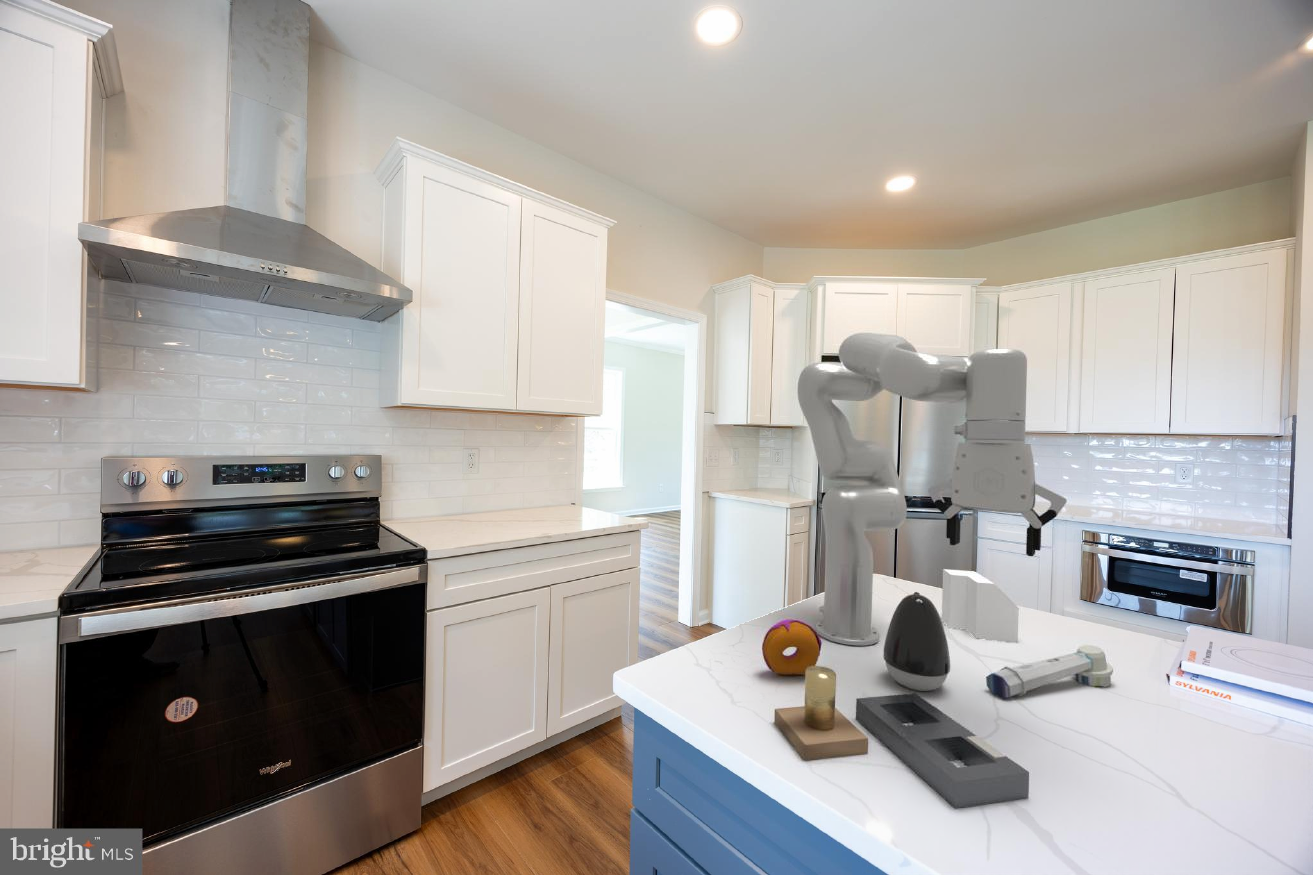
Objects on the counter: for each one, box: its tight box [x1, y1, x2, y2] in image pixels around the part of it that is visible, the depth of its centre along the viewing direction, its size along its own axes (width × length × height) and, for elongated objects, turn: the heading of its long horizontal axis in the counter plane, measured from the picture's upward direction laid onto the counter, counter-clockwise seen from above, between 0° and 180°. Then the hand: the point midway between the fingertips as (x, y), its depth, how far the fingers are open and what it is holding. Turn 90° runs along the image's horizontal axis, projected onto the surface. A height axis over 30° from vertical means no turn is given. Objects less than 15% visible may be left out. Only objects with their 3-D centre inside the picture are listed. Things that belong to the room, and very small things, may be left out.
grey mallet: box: [985, 644, 1114, 700], centre depth 89 cm, size 5×7×25 cm
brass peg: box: [804, 665, 837, 731], centre depth 72 cm, size 4×4×7 cm
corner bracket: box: [941, 568, 1019, 644], centre depth 116 cm, size 11×11×12 cm
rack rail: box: [855, 692, 1030, 809], centre depth 69 cm, size 19×10×3 cm, turn 13°
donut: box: [761, 618, 823, 676], centre depth 91 cm, size 8×9×10 cm
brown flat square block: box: [773, 705, 869, 761], centre depth 72 cm, size 9×9×2 cm
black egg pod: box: [882, 591, 951, 692], centre depth 89 cm, size 10×10×15 cm
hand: (991, 549), depth 78 cm, fingers open, 9 cm apart
